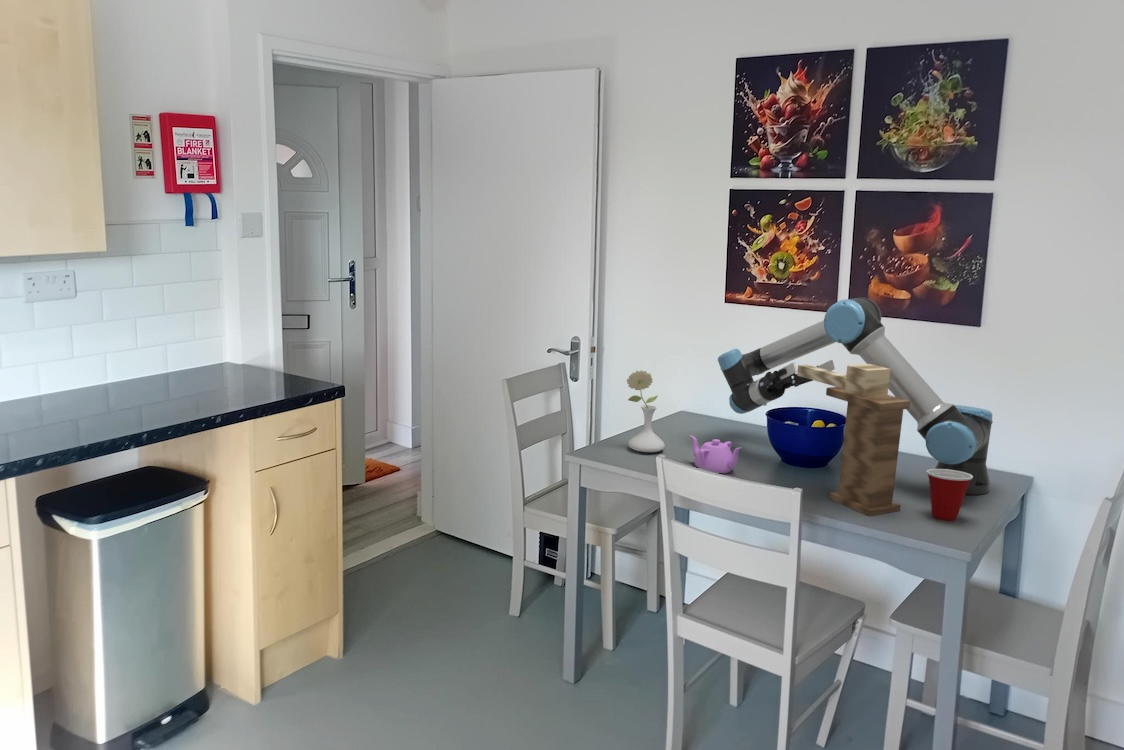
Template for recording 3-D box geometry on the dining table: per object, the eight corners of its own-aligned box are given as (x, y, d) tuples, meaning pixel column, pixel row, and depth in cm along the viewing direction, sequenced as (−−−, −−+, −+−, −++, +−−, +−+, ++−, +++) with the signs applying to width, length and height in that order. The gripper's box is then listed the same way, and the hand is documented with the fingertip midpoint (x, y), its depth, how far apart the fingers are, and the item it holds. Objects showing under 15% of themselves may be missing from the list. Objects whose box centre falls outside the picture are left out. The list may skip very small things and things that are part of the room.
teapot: (739, 476, 250) (742, 446, 248) (690, 474, 250) (693, 444, 249) (734, 464, 261) (736, 435, 260) (687, 461, 262) (689, 433, 260)
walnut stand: (900, 510, 227) (913, 401, 221) (868, 516, 222) (881, 404, 216) (844, 487, 244) (856, 385, 238) (814, 491, 239) (825, 387, 233)
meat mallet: (887, 395, 226) (890, 369, 225) (864, 397, 223) (867, 370, 221) (811, 374, 251) (814, 350, 249) (790, 375, 247) (792, 351, 246)
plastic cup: (954, 510, 229) (960, 466, 226) (975, 525, 218) (981, 479, 216) (913, 509, 228) (919, 465, 226) (932, 524, 218) (938, 478, 215)
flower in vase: (667, 447, 276) (672, 369, 271) (661, 457, 265) (667, 376, 260) (626, 442, 279) (630, 365, 274) (619, 452, 268) (623, 372, 263)
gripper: (803, 398, 267) (851, 376, 248) (737, 403, 255) (782, 381, 237) (796, 374, 269) (844, 351, 250) (730, 379, 257) (775, 355, 239)
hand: (814, 365), depth 244 cm, fingers open, 13 cm apart
